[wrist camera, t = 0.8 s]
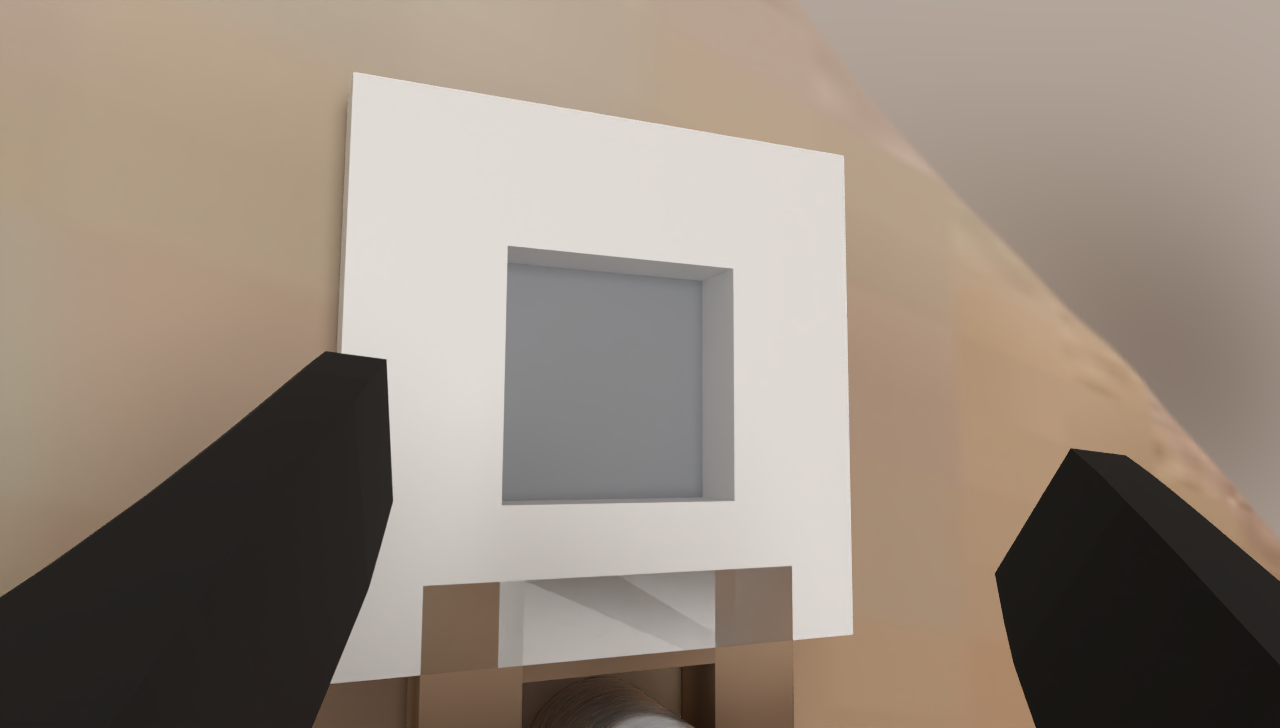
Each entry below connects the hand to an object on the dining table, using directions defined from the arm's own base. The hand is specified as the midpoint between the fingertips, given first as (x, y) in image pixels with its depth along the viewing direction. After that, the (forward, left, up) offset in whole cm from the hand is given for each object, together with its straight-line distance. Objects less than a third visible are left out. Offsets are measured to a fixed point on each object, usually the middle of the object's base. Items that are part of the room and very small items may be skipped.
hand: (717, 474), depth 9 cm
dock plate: (+2, -4, -14) cm, 15 cm away
